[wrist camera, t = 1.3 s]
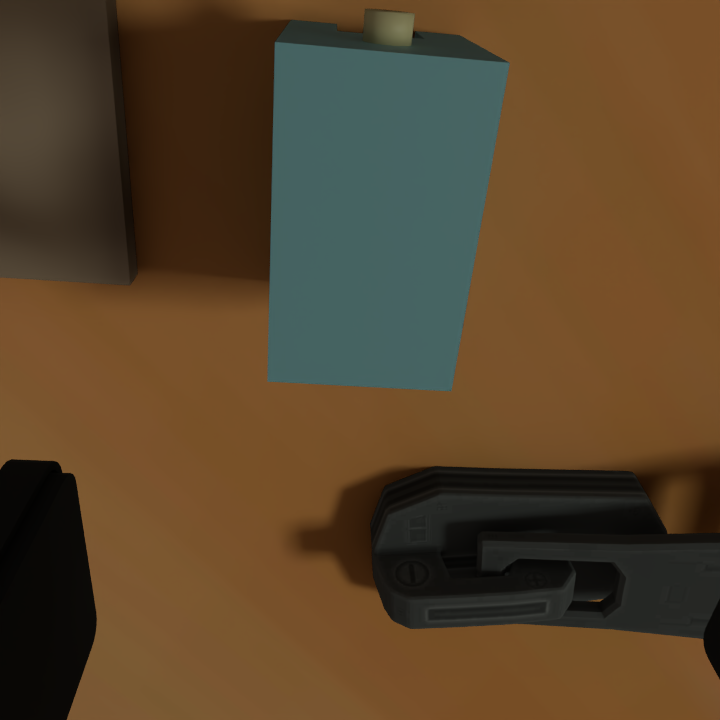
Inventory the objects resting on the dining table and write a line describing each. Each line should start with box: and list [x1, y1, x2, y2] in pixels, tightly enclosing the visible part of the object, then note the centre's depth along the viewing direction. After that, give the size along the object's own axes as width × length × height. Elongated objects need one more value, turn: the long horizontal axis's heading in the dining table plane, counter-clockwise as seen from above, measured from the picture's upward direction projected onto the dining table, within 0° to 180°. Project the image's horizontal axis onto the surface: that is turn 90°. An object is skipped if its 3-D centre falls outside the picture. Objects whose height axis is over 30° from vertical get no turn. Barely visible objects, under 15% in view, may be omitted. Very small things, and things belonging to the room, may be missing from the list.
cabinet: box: [268, 9, 510, 391], centre depth 23 cm, size 11×6×8 cm, turn 175°
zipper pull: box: [370, 466, 720, 639], centre depth 34 cm, size 9×7×25 cm
